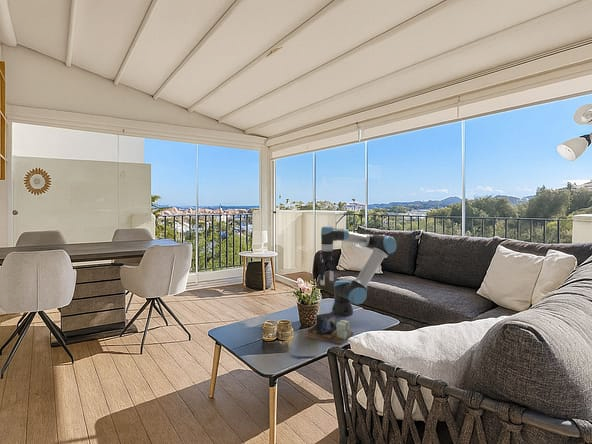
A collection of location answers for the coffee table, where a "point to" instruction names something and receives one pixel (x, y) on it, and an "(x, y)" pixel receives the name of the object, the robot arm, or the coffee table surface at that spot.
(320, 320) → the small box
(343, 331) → the cradle
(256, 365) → the coffee table surface
